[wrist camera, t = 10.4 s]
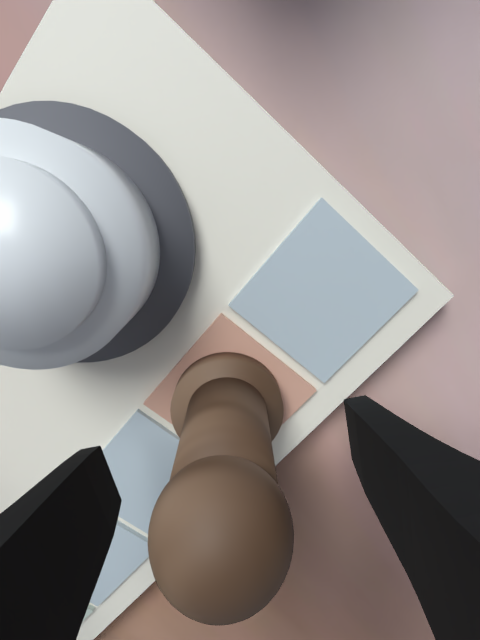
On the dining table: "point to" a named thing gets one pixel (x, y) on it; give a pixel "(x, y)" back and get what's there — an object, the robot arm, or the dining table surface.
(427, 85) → the dining table surface
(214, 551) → the pawn
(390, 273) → the game board
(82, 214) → the dome
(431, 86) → the dining table surface
